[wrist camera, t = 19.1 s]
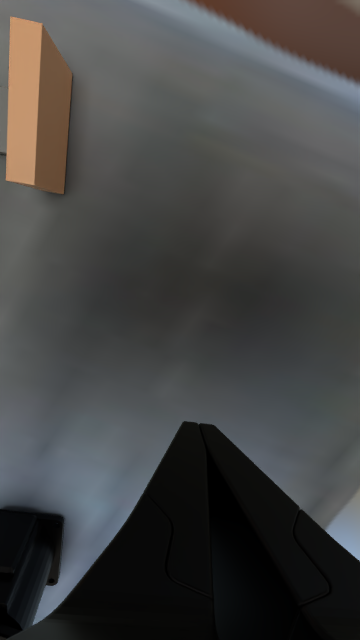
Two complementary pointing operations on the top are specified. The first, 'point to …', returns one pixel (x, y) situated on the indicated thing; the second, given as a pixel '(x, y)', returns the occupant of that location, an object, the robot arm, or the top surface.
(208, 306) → the top surface
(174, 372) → the top surface
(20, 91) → the tray
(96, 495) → the top surface
